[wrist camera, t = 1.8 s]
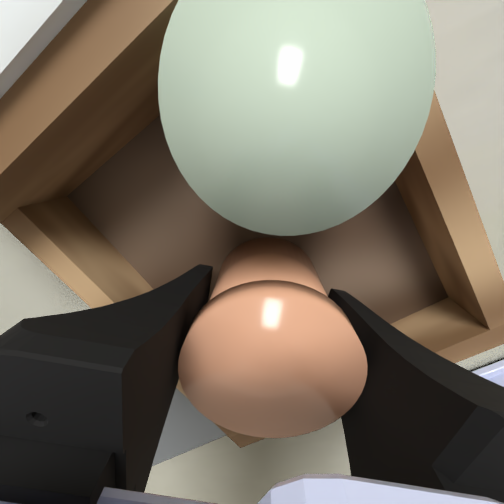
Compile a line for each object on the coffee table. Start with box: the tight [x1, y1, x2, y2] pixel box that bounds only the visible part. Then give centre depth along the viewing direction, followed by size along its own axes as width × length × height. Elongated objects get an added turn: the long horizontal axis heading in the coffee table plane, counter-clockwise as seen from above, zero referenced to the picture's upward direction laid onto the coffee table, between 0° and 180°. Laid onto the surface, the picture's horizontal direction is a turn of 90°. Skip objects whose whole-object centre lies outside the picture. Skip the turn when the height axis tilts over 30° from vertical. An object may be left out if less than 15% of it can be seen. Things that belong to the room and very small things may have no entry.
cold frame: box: [0, 0, 504, 448], centre depth 8 cm, size 24×14×5 cm, turn 34°
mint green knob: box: [158, 0, 436, 236], centre depth 7 cm, size 5×5×6 cm
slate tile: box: [152, 388, 226, 466], centre depth 16 cm, size 9×9×1 cm
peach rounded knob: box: [178, 237, 368, 438], centre depth 10 cm, size 5×5×6 cm
